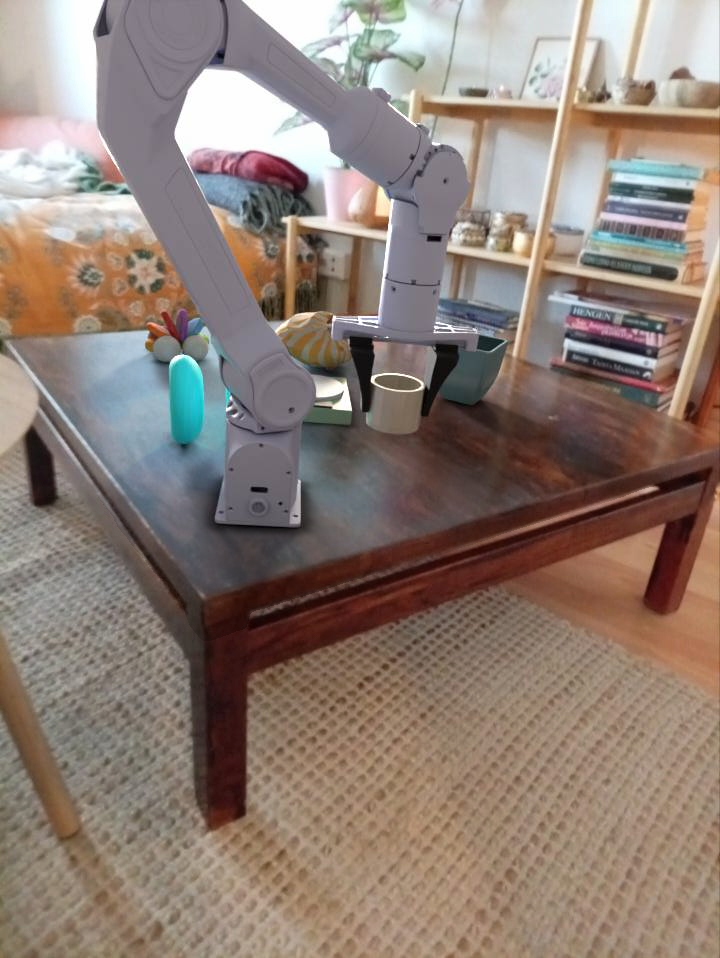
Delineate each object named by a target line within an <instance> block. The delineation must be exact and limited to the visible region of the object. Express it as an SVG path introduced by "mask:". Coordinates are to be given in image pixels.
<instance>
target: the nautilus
mask: <svg viewBox="0 0 720 958" xmlns="http://www.w3.org/2000/svg"><path fill="white" fill-rule="evenodd" d="M350 312H351V311H347V312H345V313H343V314H341V313H338V314H334V313H332V312H328V311H324V310H319V311H315V312H301V313H295V314H294V315H292V316H291V317H290V318H289V319H287V320H286V321H284V322H283V323H282V324H280V325H279V326H278V327H277V328H276V329H275V330H274V331H275V332H276V334H277V335H278V336H279V338H280V339H281V341H282V342H283V343H284V345H285V346H286V348H287V350H288V352H289V354H290V356H291V358H293V359H295V360H296V361H298V362H299V363H301V364H303V365H306V366H309V367H315V368H319V369H320V368H325V369H326V370H327V371H328V372H330V371H332V370H334V369H336V368H337V367H339V366H341V365H344V364H346V363H348V362H350V361H351V360H352V356H351V353H350V349H349V344H348V339H343V340H332V335H331V333H332V321H333V316H344V315H346V316H344V317H348V315H347V314H349V313H350ZM357 317H361V315H358V316H357Z"/></svg>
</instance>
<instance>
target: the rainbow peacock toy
mask: <svg viewBox="0 0 720 958" xmlns="http://www.w3.org/2000/svg"><path fill="white" fill-rule="evenodd" d="M160 315H161V318H162V320H163V322H164V324H165V326H164V325H159V324H157V323H154V322H151V321H150V322H148V323H146V326H145V327H146V330H147V331H148V333H147V339H146V341H145V342H144V347H145V349H146V350H147V351H148V352H151V353H153V355H154V356H155V358H156V359H157V360H159V361H161V362H163V363H171V361H172V359H173V358H174V357H176V356H178V355H181V351H182V355H187V356H189V357H191V358H192V359H194V360H195V361H196V362H199V361H202V360H203V359H205V358H206V357H207V355H208V353H209V350H210V349H209V345H210V339H209V337H208V335H205V334H201V332H202V330H203V328H204V326H205V323H204V321H203V320H202V318H201V317H196V318H193V319H191V320H190V321H189V314H188V311H187V310H186V309H184V308H181V309H179V310H178V311H177V313H176V317H175V321H174V322H173V319H172V318H171V315H170V314H169V312H168V311H167V310H162V311H161V312H160Z"/></svg>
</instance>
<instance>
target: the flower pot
mask: <svg viewBox="0 0 720 958" xmlns="http://www.w3.org/2000/svg"><path fill="white" fill-rule="evenodd" d="M508 344H509V340H508V339H504V338H500V337H496V336H491V335H485V334H482V333H481V334H480V333H479V338H478V343H477V349H476V352H470V351H465V349H458V354H459V361H458V363H457V365H456V367H455V368H454V369H453V370H452V372H451V373H450V374H449V376H448V377H447V378H446V380H445V381H444V383H443V384H442V386H441V388H440V390H439V391H438V394H439V396H440V398H441V399H444V400H448V401H452V402H457V403H460V404H464V405H468V406H474V405H475V404H476V403H478V402H479V401H480V400H481V399H482V398H484V397H485V395H487V393H488V392H489V391H490V389H491V388H492V386H493V385H494V384H495V382H496V379H497V378H498V375H499V373H500V370H501V367H502V365H503V361H504V357H505V356H506V355H505V354H506V351H507V349H508Z"/></svg>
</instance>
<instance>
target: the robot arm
mask: <svg viewBox="0 0 720 958" xmlns="http://www.w3.org/2000/svg"><path fill="white" fill-rule="evenodd" d="M99 9H100V10H99V12H98V15H97V18H96V21H95V23H94V26H93V29H92V37H93V43H94V51H95V119H96V120H95V123H96V129H97V131H98V134H99V138H100V140H101V141H102V143H103V145H104V147H105V149H106V150H107V152H108V154H109V156H110V157H111V159H112V161H113V163H114V165H115V167H116V169H117V170H118V172H119V174H120V175H121V177H122V179H123V181H124V183H125V184H126V186H127V188H128V189H129V192H130V194H131V195H132V197H133V199H134V201H135V202H136V204H137V206H138V207H139V209H140V212H141V213H142V214H143V217H144V218H145V220H146V222H147V224H148V225H149V227H150V229H151V231H152V232H153V234H154V236H155V238H156V239H157V241H158V244H159V245H160V247H161V248H162V250H163V252H164V253H165V255H166V257H167V259H168V261H169V262H170V265H171V266H172V268H173V270H174V271H175V274H176V275H177V277H178V279H179V280H180V282H181V284H182V286H183V287H184V289H185V291H186V293H187V294H188V295H187V296H189V298H190V300H191V302H192V304H193V305H194V307H195V309H196V311H197V313H198V314H199V316H200V318H201V319H202V320H203V322H204V326H205V327H206V329H207V331H208V332H209V334H210V343H211V345H212V347H213V349H214V351H215V353H216V355H217V361H218V375H219V379H220V381H221V383H222V385H223V386H224V388H225V390H226V389H227V390H228V391H229V392H231V393H230V398H229V401H228V404H227V408H226V407H225V435H224V436H225V437H224V439H225V443H224V447H225V448H224V475H223V479H222V481H221V482H222V483H221V487H220V493H219V496H218V501H217V506H216V510H215V515H214V522H215V523H216V524H220V525H237V526H238V525H239V526H240V525H242V526H261V527H276V528H277V527H278V528H279V527H280V528H300V527H301V525H302V523H301V521H302V520H301V519H302V516H301V515H302V512H301V510H302V508H301V505H302V504H301V503H302V500H301V499H302V497H301V495H302V493H301V492H302V489H301V485H302V481H301V479H299V469H300V456H301V441H302V428H303V422H302V421H303V420H304V419H305V418H306V417H307V416H308V415H309V413H310V412H311V410H312V408H313V406H314V403H315V399H316V385H315V382H314V379H313V377H312V376H311V374H312V373H310V371H308V369H306V368H305V367H304V366H302V365H301V364H299V363H298V362H296V361H295V360H294V358H293V357H292V356H290V354H289V352H288V350H287V348H286V346H285V345H284V343H283V342H282V341H281V339H280V338H279V336H278V335H277V334H276V332H275V331H276V330H274V328H273V327H272V326H271V324H270V323H269V322H268V320H267V318H266V316H265V315H264V313H263V311H262V308H261V306H260V305H259V303H258V301H257V299H256V297H255V295H254V293H253V291H252V289H251V287H250V285H249V283H248V281H247V279H246V277H245V274H244V273H243V271H242V269H241V267H240V265H239V262H238V260H237V259H236V256H235V255H234V253H233V251H232V249H231V246H230V245H229V243H228V241H227V238H226V237H225V234H224V233H223V231H222V229H221V226H220V225H219V222H218V221H217V219H216V216H215V214H214V213H213V210H212V208H211V206H210V205H209V202H208V200H207V199H206V196H205V195H204V192H203V190H202V188H201V186H200V184H199V183H198V180H197V178H196V176H195V174H194V173H193V170H192V168H191V167H190V166H191V165H190V164H189V162H188V160H187V158H186V155H185V154H184V152H183V150H182V148H181V146H180V145H179V142H178V140H177V138H176V135H175V133H176V128H177V125H178V123H179V120H180V116H181V114H182V111H183V108H184V105H185V103H186V98H187V96H188V93H189V90H190V89H191V87H192V86H193V85H194V83H195V82H196V81H197V79H198V78H199V77H200V76H201V74H202V73H203V72H204V70H212V71H213V70H214V71H227V72H235V73H238V74H241V75H243V76H244V77H246V78H247V79H248V80H250V81H252V82H254V83H255V84H257V85H258V86H259V87H261V88H263V89H264V90H266V91H268V92H269V93H270V94H272V95H274V96H275V97H276V98H278V99H280V100H281V101H283V102H284V103H286V104H287V105H289V106H290V107H291V108H294V109H295V110H296V111H298V112H299V113H301V114H302V115H304V116H305V117H307V118H308V119H310V120H312V121H314V122H315V123H316V124H318V125H319V126H321V128H322V132H323V137H324V141H325V144H326V148H327V149H328V151H329V152H330V153H331V154H333V155H334V156H336V157H337V158H339V159H340V160H341V161H343V162H344V163H346V164H348V166H350V167H352V168H353V169H355V170H356V171H357V172H359V173H360V174H362V175H363V176H365V177H366V178H368V179H369V180H370V181H372V182H374V184H376V185H378V186H379V187H380V188H381V189H382V191H383V193H384V195H385V197H386V199H387V200H388V201H389V202H390V204H391V205H390V212H389V221H388V229H387V237H386V238H387V239H386V245H385V246H386V247H385V254H384V255H385V256H384V257H385V258H384V265H383V272H382V281H381V289H380V297H379V306H378V315H377V316H360V317H358V316H347V317H345V316H343V315H338V316H333V321H332V333H331V335H332V340H343V339H348V344H349V349H350V353H351V356H352V358H351V360H352V361H353V365H354V367H355V371H356V374H357V379H358V384H359V392H360V393H359V396H360V397H359V398H360V402H359V403H360V404H359V406H360V412H361V413H366V412H368V411H369V404H370V383H371V377H373V369H374V363H375V358H376V354H375V350H374V349H375V344H374V342H376V343H387V344H399V345H411V346H421V347H422V346H423V347H426V361H425V369H424V378H423V382H424V384H425V386H426V389H425V395H424V402H423V408H422V414H421V418H423V417H424V418H428V417H429V415H430V411H431V409H432V406H433V404H434V402H435V399H436V397H437V395H438V394H439V392H438V391H439V390H440V388H441V386H442V384H443V383H444V381H445V380H446V378H447V377H448V376H449V374H450V373H451V372H452V370H453V369H454V368H455V367H456V365H457V363H458V361H459V354H458V349H465V351H470V352H476V349H477V343H478V338H479V334H480V333H479V332H478V330H477V329H476V328H475V327H467V326H465V327H464V326H460V325H452V324H448V323H447V324H446V323H441V322H437V317H438V310H439V305H440V304H439V303H440V298H441V297H440V296H441V290H442V283H443V277H444V272H445V271H444V270H445V264H446V257H447V251H448V244H449V238H450V232H451V229H454V225H455V218H456V215H457V213H458V211H459V209H461V207H462V206H463V204H464V203H465V201H466V200H467V198H468V196H469V194H470V192H471V191H470V190H471V188H472V181H470V180H469V179H468V170H467V165H466V163H465V161H464V160H465V159H464V157H463V156H462V154H461V153H460V152H459V150H457V148H455V147H454V146H451V145H449V144H445V143H444V144H443V143H435V142H432V139H431V137H430V136H429V135H430V132H431V130H430V128H429V127H427V126H426V125H425V124H424V123H414V122H413V121H411V120H410V119H409V118H408V117H406V116H405V115H404V114H402V113H401V112H400V111H399V110H398V109H396V108H395V107H394V106H392V105H391V104H390V101H391V99H392V95H391V94H390V93H389V92H388V91H386V89H385V88H383V87H372V88H370V87H369V86H367V85H359V86H355V87H352V88H350V89H345V88H343V86H341V85H340V84H339V83H338V82H337V81H336V80H334V79H333V77H331V76H330V75H329V74H327V73H326V72H325V71H324V70H323V69H322V68H320V67H319V66H318V65H317V64H315V63H314V62H313V61H312V60H311V59H310V58H309V57H308V56H307V55H305V54H304V53H303V52H302V51H301V50H299V49H298V48H297V47H296V46H295V45H294V44H292V43H291V42H290V41H289V40H288V39H287V38H285V37H284V35H282V34H281V33H280V32H279V31H278V30H276V29H275V28H274V27H273V26H272V25H270V24H269V23H268V22H267V21H266V20H264V19H263V18H262V17H261V16H260V15H259V14H258V13H256V11H254V10H253V9H252V8H251V7H250V6H249V5H248V4H247V3H246V2H245V1H244V0H103V1H102V4H101V7H100V8H99Z"/></svg>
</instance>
